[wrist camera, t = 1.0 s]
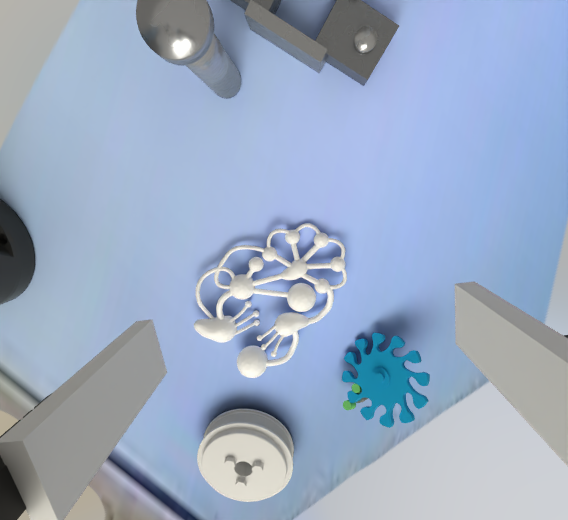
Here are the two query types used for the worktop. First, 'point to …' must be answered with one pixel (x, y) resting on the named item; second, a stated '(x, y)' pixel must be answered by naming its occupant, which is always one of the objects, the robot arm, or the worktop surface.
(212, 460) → the lid
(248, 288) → the tangled rod sculpture
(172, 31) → the pin
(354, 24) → the bolted rod clamp
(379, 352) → the gear
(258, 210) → the worktop surface
